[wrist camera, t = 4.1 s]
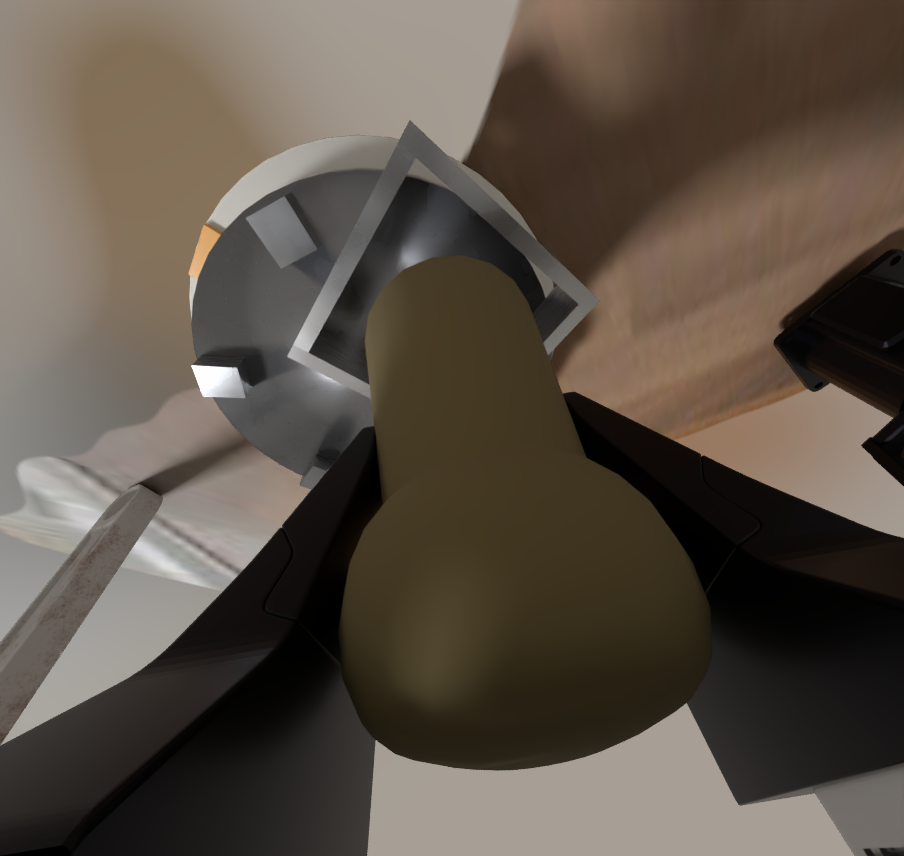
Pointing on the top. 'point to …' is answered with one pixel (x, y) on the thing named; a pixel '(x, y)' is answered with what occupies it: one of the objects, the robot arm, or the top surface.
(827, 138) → the top surface
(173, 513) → the top surface
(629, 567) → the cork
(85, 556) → the wrench
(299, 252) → the grey tabbed disc
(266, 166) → the base plate
